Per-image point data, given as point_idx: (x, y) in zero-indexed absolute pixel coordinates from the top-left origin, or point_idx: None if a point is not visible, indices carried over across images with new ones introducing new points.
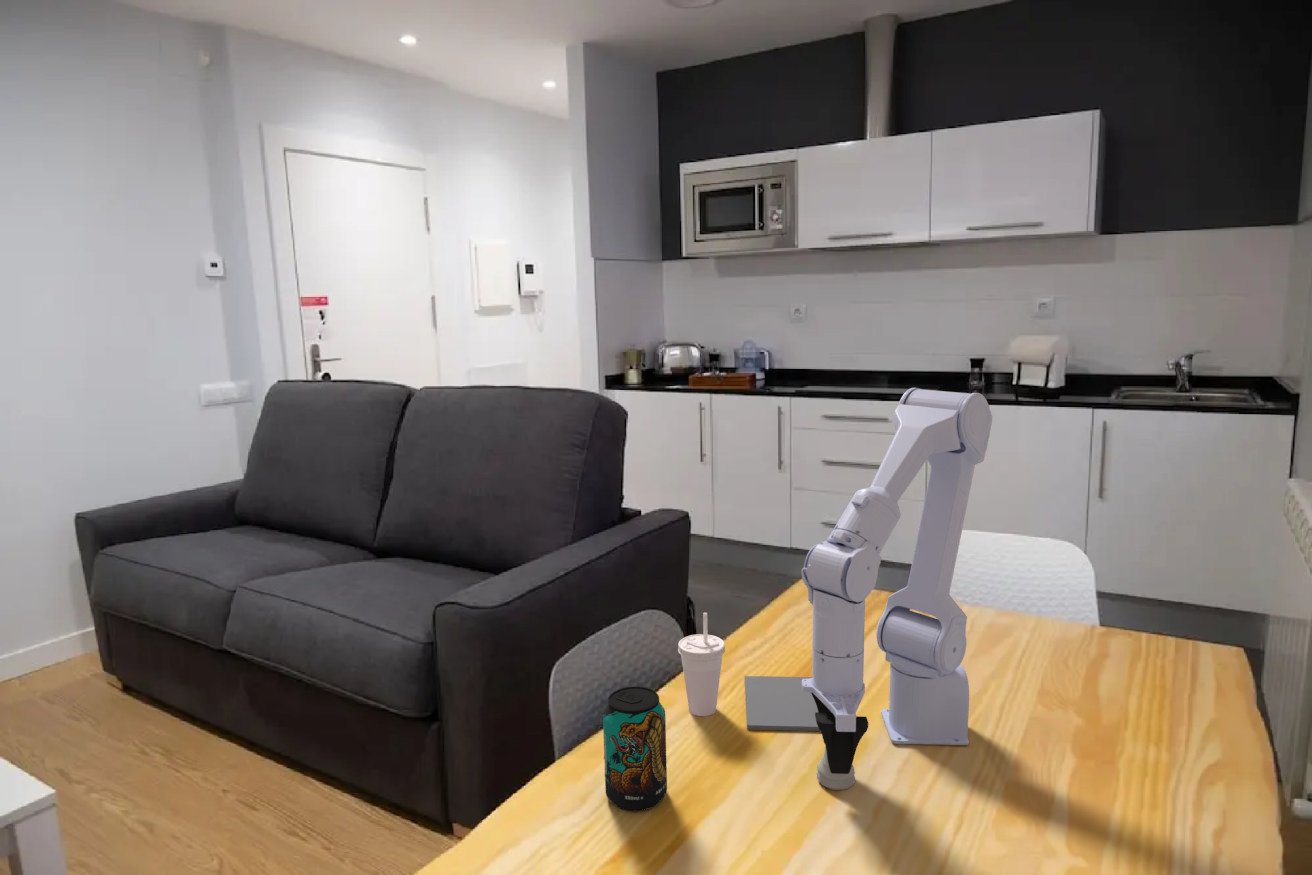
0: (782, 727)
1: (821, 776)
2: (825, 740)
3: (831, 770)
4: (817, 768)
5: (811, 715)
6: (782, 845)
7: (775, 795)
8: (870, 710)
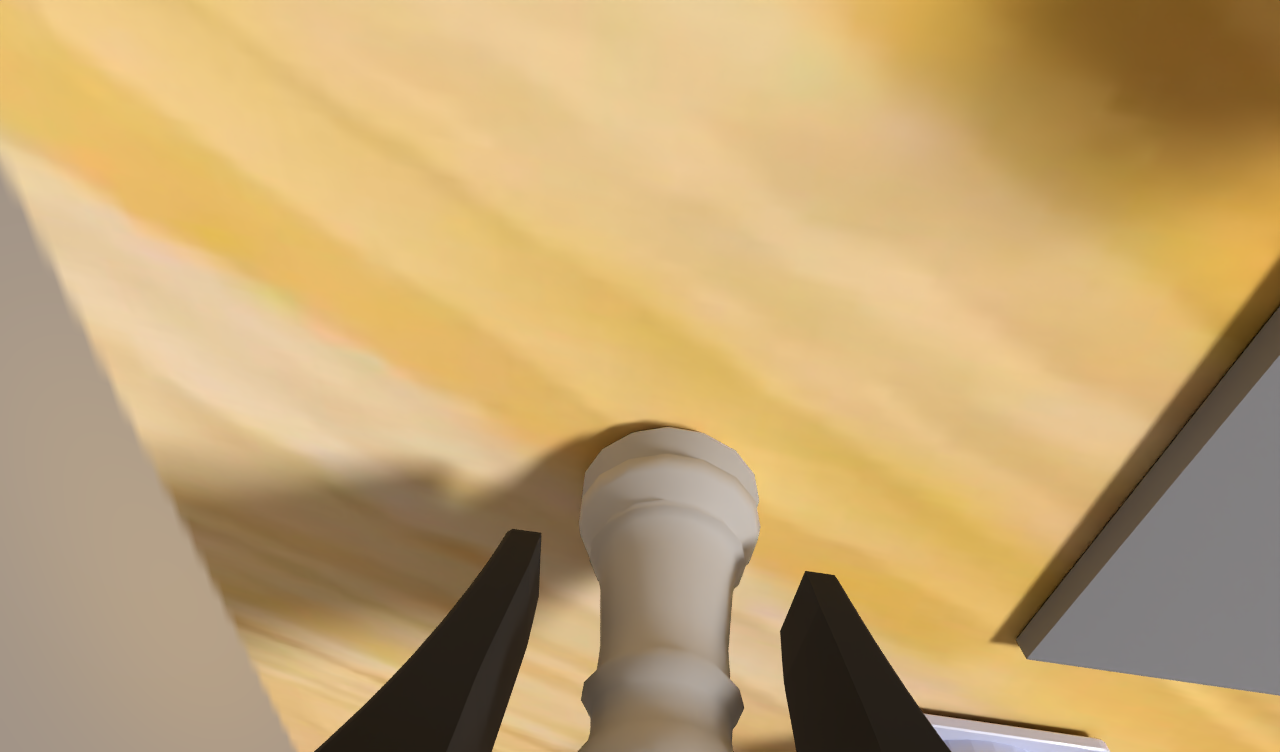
0: (1245, 377)
1: (656, 452)
2: (319, 749)
3: (502, 542)
4: (688, 459)
5: (1255, 543)
6: (123, 132)
7: (561, 184)
8: (1147, 715)
